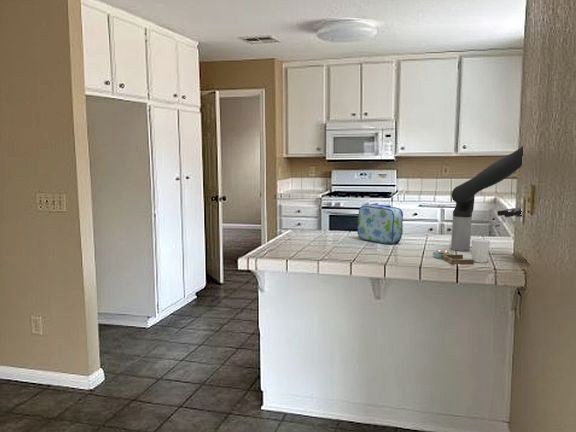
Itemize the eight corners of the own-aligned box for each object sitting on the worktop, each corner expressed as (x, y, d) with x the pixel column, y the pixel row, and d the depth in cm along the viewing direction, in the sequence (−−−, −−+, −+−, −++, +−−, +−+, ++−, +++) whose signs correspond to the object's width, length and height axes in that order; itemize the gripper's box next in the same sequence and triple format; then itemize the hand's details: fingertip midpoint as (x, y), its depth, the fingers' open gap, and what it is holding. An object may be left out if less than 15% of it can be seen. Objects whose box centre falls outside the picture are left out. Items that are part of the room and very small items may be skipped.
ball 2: (441, 255, 248) (441, 249, 247) (447, 255, 248) (447, 249, 248) (443, 257, 245) (444, 251, 244) (449, 257, 245) (450, 251, 245)
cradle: (441, 259, 244) (441, 254, 244) (461, 258, 246) (462, 254, 245) (452, 264, 233) (452, 260, 232) (473, 264, 234) (474, 259, 234)
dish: (432, 256, 251) (432, 251, 250) (446, 256, 252) (446, 251, 251) (438, 259, 244) (438, 254, 244) (452, 259, 245) (452, 254, 244)
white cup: (484, 259, 245) (485, 238, 243) (491, 263, 237) (492, 241, 236) (467, 259, 244) (469, 238, 243) (474, 263, 237) (475, 241, 235)
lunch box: (404, 243, 284) (406, 205, 281) (392, 246, 277) (394, 206, 274) (367, 237, 303) (368, 201, 300) (355, 239, 296) (356, 202, 293)
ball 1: (435, 255, 250) (434, 249, 249) (441, 253, 250) (440, 247, 249) (438, 257, 247) (437, 251, 246) (444, 255, 247) (443, 249, 246)
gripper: (529, 201, 245) (494, 205, 246) (543, 202, 231) (506, 206, 231) (530, 216, 246) (496, 220, 246) (544, 219, 231) (507, 223, 232)
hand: (501, 214), depth 239 cm, fingers open, 8 cm apart
